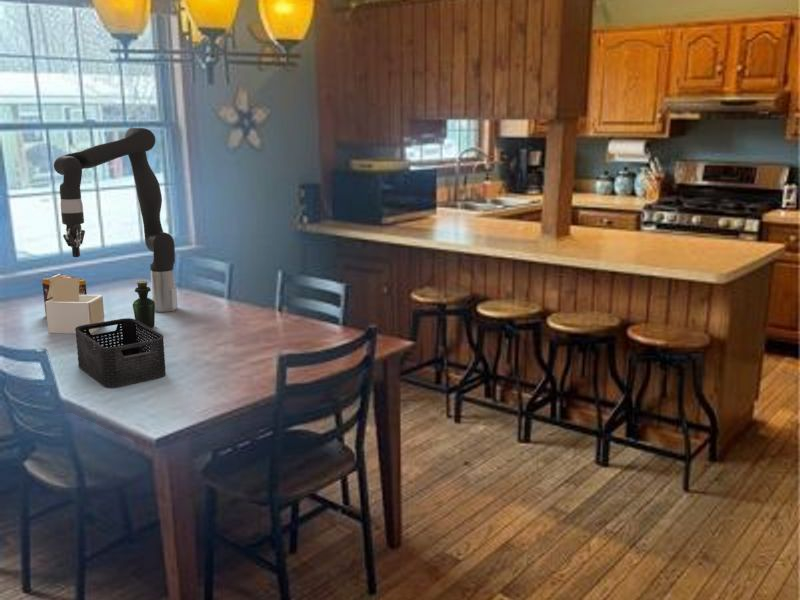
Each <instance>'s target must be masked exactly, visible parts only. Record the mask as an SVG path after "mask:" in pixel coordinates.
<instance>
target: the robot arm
mask: <svg viewBox="0 0 800 600" xmlns="http://www.w3.org/2000/svg"><path fill="white" fill-rule="evenodd" d="M155 145H156V136H155V133H153V132H152V131H151V130H150V129H148V128H145V127H130V128H129V129H127V130H125V132H124V135H123V138H121V139H119V140H114V141H110V142H105V143H100V144H96V145H94V146H91V147H88V148H85V149H83V150H80V151H77V152H76V151H75V152H72V153H68V154H63V155H61V156H59V157H57V158H56V159H55V161H54V162H53V168H54V170H55V172H56V173H57V174H59V175H60V176H63V180H62V181H63V182H62V183H60V185H59V197H60V215H61V223H62V224H63V225H66V226H65V227H66V228H65V231H66V233H65V234H63V235H62V237H63V239H64V241H65V243H66V244H67V246H68V247H70V248H71V252H72V253H71V254H72V257H73V258H79V257H81V252H80V251H81V250H80V247H81V245H83V243H84V237H85V234H86V231H85V229H82V225H83V224H84V223H85V217H84V206H83V201H82V193H81V184H82V177H83V170H84V169H85V170H86V169H93V168H96V167H98V166H100V165H103V164H105V163H108V162H111V161H114V160H116V159H118V158H122V157H125V156H128V158H129V162H130V166H131V169H132V175H133V180H134V185H135V191H136V196H137V200H138V204H139V208H140V213H141V218H142V223H143V232H144V242H145V246H146V248H147V249H148V250H149V251H150V252H152V253H153V260H152V262H151V263H150V264H149V269H150V283H151V296H152V298H151V299H152V300H153V301H154V302H155V313H157V312H158V313H165V312H168V313H169V312H174V311H175V310H177V309H178V307H179V306H178V292H177V286H176V285H175V284H176V283H175V271H174V269H175V268H174V265H175V262H176V257H175V256H176V251H175V249H176V248H175V241H174V238H173V236H172V235H171V234H170V233H168V232H164V230H163V227H162V221H161V211H162V210H161V209H162V205H163V197H162V191H161V186H160V183H159V180H158V178H157V176H156V174H155V173H154V171H153V169H152V168H151V166H150V164H149V161H148V158H147V157H148V156H147V152H149V151H151V150H152V149H153V148H154V147H155Z"/></svg>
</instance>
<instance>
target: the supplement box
mask: <svg viewBox="0 0 800 600" xmlns="http://www.w3.org/2000/svg"><path fill="white" fill-rule="evenodd" d="M51 278H52V277H47V278H41V281H42V291H43V299H44V300H43V302H44V303H43V304H44V311H45V312H44V313H45V316H46V317H47V314H46V305H45V302H46V301H48V300H50V299H52V298H53V297H51V298H49V299H47V296H48V291H49V287H50V282H51ZM60 278H76V277H75V276H71V275H67V274H66V275H60ZM86 283H87V282H86V279H82V278H80V283H79V295H88V294H87V284H86Z"/></svg>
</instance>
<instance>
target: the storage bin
mask: <svg viewBox="0 0 800 600" xmlns="http://www.w3.org/2000/svg"><path fill="white" fill-rule="evenodd" d="M110 326H116V329H115V330H111V331H107V332H100V333H99V332H98V333H90V331H89V329H94V328H99V329H101V328H106V327H110ZM100 327H101V328H100ZM84 330H86V331H84ZM75 331H76V334H75V337H76V338H75V339H76V350H77V352H76V354H77V362H78V364H77V365H78V368H79V369H81V370H83V371H84V372H85V373H86V374H87V375H88V376H90V377H91V378H92V379H94V380H95V381H96V382H98V383H99V384H100V385H101V386H103V387H104V388H107V389H116V388H117V389H118V388H121V387H126V385H127V386H130V385H134V384H139V382H140V383H144V382H148V381H151V380H156V379H161V378H163V377H166V374H167V373H166V360H165V359H166V358H165V357H166V356H165V354H166V353H165V345H164V344H165V342H164V335H163V334H162V333H160V332H158V331H156V330H155V329H154V328H149V327H148V326H146V325H144V324H142V323H141V322H139V321H137V320H135V318H131V317H129V318H128V317H127V318H126V317H125V318H124V317H123V318H119V319H113V320H106V321H104V322H100V323H93V324H87V325H81V326H78V327H76V328H75ZM85 333H86V334H85Z"/></svg>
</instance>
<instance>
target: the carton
mask: <svg viewBox="0 0 800 600" xmlns="http://www.w3.org/2000/svg"><path fill="white" fill-rule="evenodd" d="M103 298H104V297H103V295H101V294H87V295H79V302H61V301H52V299H53V298H52V299H50V300H48V301H46V302H45V303H44V306H45V305H46V313H45V315H46V314H47V316H46V320H47V321H46V322H47V331H48V334H75V335H76V331H75V328H76V327H78V326H81V325H87V324H93V323H100V322H105V312H104V311H105V310H104V299H103ZM101 328H102V327H100V328H94V329H89V331H90V333H91V334H94V332H96V331H98V330H99V329H101ZM84 331H86V330H84ZM85 334H86V333H85Z"/></svg>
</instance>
